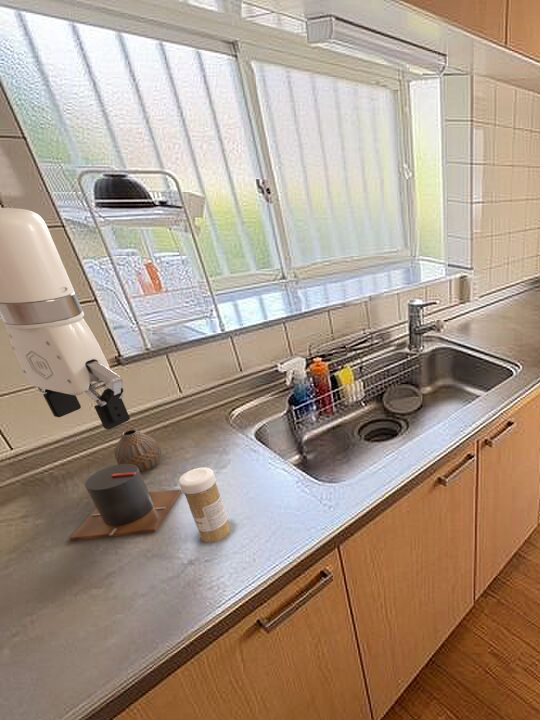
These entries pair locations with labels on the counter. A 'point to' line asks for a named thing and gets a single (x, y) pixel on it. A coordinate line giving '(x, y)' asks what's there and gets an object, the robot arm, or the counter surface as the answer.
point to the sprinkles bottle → (205, 504)
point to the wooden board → (147, 523)
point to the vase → (137, 450)
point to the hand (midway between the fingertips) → (92, 418)
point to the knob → (119, 494)
